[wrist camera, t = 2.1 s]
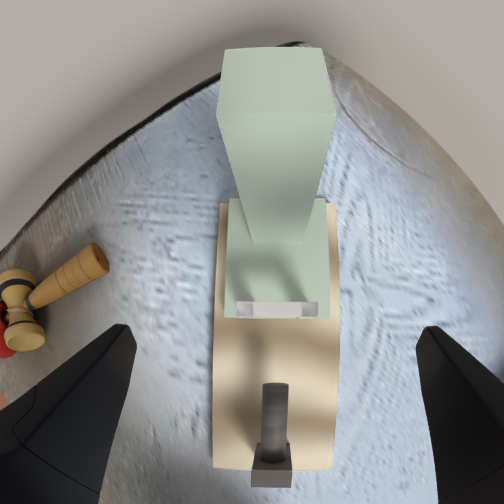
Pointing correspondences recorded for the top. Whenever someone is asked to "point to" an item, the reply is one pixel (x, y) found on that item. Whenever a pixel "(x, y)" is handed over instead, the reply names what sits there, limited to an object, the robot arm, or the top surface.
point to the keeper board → (275, 364)
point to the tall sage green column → (276, 181)
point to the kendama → (41, 297)
